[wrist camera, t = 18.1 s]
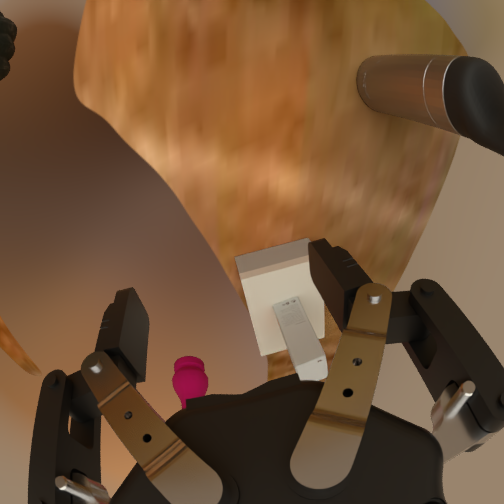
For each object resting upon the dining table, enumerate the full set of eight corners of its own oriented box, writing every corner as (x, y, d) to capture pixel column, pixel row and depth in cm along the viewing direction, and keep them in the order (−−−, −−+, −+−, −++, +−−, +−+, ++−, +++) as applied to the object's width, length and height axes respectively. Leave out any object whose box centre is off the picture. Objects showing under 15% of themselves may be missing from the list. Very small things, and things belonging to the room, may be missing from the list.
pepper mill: (208, 372, 59) (221, 455, 43) (176, 376, 58) (181, 458, 42) (203, 352, 56) (215, 442, 39) (168, 356, 55) (171, 446, 38)
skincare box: (271, 304, 44) (294, 366, 34) (297, 295, 44) (326, 354, 34) (279, 329, 47) (301, 387, 37) (303, 320, 47) (329, 376, 37)
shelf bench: (307, 237, 46) (322, 257, 41) (313, 315, 56) (324, 337, 51) (234, 256, 46) (240, 279, 41) (254, 332, 55) (261, 356, 50)
